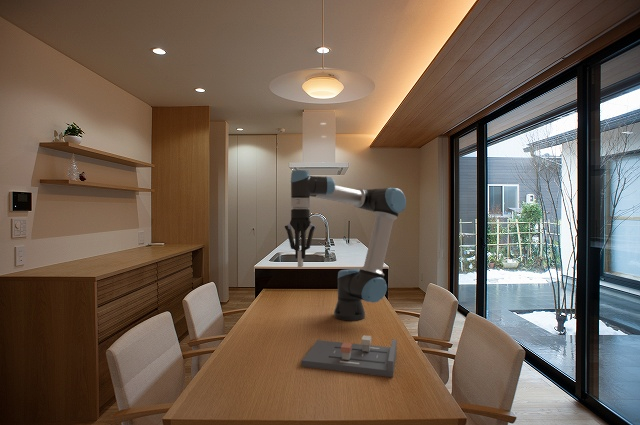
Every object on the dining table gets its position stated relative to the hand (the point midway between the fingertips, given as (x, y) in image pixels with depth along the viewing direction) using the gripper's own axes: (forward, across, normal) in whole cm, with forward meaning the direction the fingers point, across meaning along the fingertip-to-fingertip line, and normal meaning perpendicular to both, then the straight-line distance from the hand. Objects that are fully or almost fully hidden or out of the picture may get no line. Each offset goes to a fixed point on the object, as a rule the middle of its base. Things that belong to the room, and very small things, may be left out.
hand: (300, 266), depth 152 cm
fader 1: (+27, +22, -22) cm, 41 cm away
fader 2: (+27, +28, -13) cm, 41 cm away
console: (+29, +23, -17) cm, 41 cm away
